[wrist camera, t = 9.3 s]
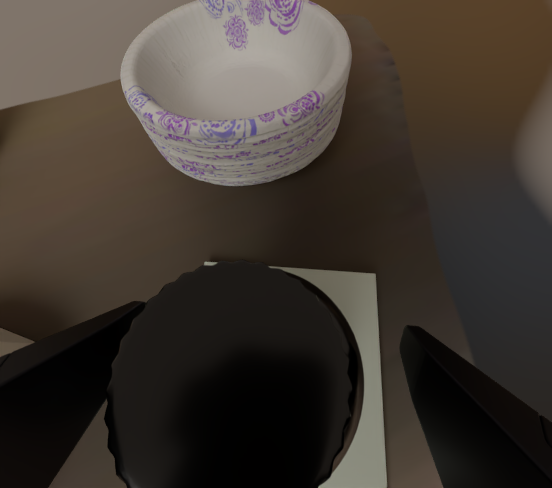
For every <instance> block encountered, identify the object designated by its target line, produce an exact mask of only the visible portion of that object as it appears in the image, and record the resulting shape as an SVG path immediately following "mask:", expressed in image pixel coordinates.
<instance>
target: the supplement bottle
mask: <svg viewBox="0 0 552 488" xmlns="http://www.w3.org/2000/svg"><path fill="white" fill-rule="evenodd" d="M106 398H107V402H108V405H107V408H106V412H105V417H104V420H105V423H106V426H107V427H108V430H109V434H108V449H109V450H110V452H111V453H112V454H113V456H114V458H115V468H116V475H117V476H118V477H119V478H120V479H121V480H122V481H123V482H124V483H126V486H127V488H318V487H319V486H320V485H322V484H323V483H325V482H326V481H327V480H328V479H329V478H330V477H331V474H332V473H333V472H334V471H335V469H336V468H337V467H338V466H339V464H340V463H341V461H342V460H343V458H344V457H345V455H346V453H347V452H348V450H349V448H350V446H351V444H352V442H353V439H354V437H355V434H356V431H357V429H358V425H359V421H360V418H361V413H362V408H363V400H364V371H363V364H362V358H361V354H360V350H359V347H358V343H357V341H356V338H355V335H354V333H353V331H352V329H351V327H350V325H349V323H348V321H347V320H346V318H345V316H344V315H343V313H342V312H341V310H340V309H339V308H338V306H337V305H336V304H335V303H334V302H333V301H332V300H331V298H330V297H328V296H327V295H326V294H325V293H324V292H323V291H322V290H321V289H319V288H318V287H317V286H315V285H314V284H312V283H311V282H309V281H307V280H306V279H304V278H302V277H300V276H297V275H295V274H292V273H289V272H286V271H283V270H282V269H278V268H270V267H268V266H267V265H266V264H264V263H262V262H259V263H252V264H251V263H249V262H247V261H245V260H239V261H236V262H233V263H231V262H227V261H220V262H218V263H216V264H215V265H202V266H200V267H199V268H197V269H196V270H195V271H194V272H187V273H183V274H182V275H181V276H180V277H179V278H178V279H177V280H176V281H175V282H172V283H169V284H166V285H165V286H164V287H163V288H162V289H161V291H160V292H159V294H158V295H156V296H154V297H153V298H151V299H149V300H148V301H147V303H146V305H145V307H144V309H143V311H142V312H141V313H139V314H138V315H137V316H136V317H135V318H134V319H133V321H132V323H131V327H130V330H129V331H128V332H127V333H126V335H125V336H124V337H123V338H122V339H121V341H120V346H119V353H118V354H117V356H116V357H115V359H114V361H113V362H112V364H111V379H110V381H109V383H108V386H107V388H106Z"/></svg>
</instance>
